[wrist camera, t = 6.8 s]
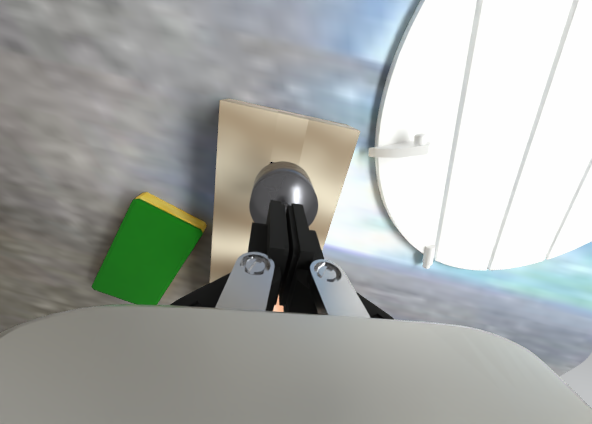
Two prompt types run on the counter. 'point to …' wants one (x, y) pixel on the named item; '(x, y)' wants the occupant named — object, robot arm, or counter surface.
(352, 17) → the counter surface
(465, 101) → the lazy susan
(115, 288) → the dish sponge
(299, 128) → the knob mount
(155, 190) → the counter surface
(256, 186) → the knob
